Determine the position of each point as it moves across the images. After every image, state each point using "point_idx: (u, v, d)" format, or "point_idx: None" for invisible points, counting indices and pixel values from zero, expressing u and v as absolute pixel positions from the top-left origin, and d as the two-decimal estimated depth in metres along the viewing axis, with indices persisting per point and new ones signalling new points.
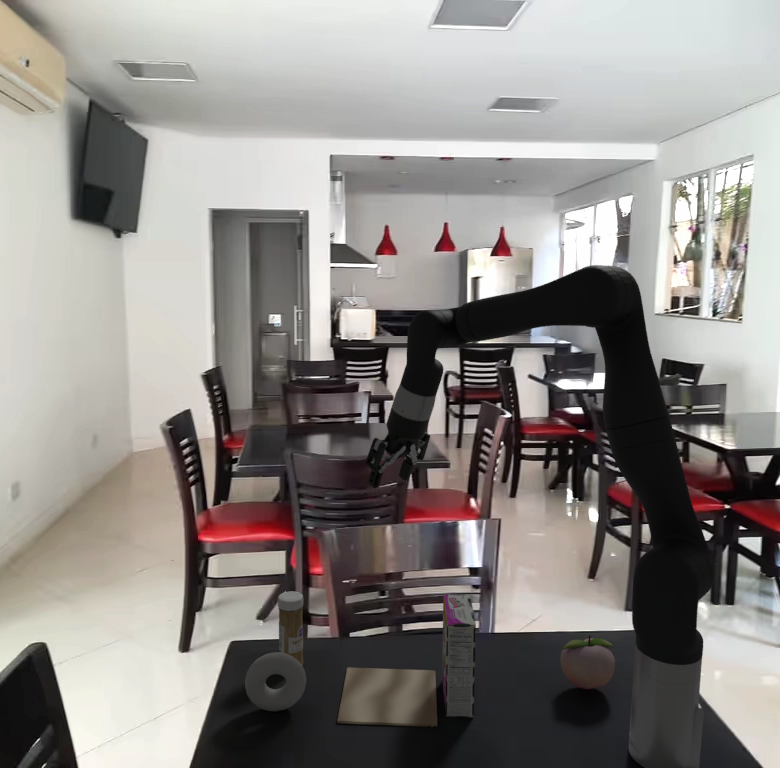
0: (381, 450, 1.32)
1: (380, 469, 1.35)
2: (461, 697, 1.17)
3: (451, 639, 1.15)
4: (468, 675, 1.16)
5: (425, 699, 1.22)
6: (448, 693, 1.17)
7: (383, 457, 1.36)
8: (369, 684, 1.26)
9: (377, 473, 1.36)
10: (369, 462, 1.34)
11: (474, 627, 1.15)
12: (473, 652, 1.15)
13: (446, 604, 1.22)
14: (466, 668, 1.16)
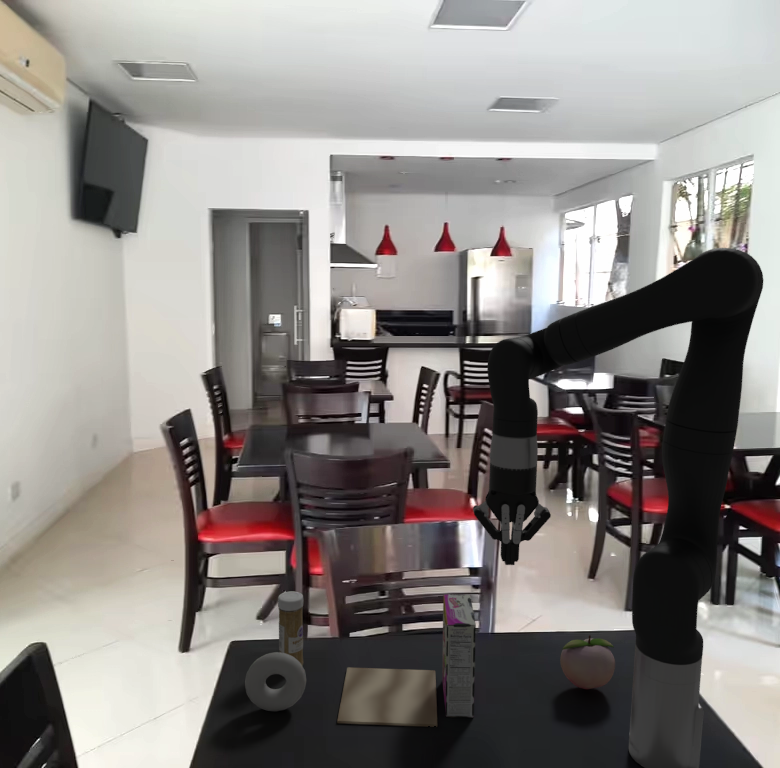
0: (479, 517, 1.17)
1: (503, 538, 1.17)
2: (461, 697, 1.17)
3: (451, 639, 1.15)
4: (468, 675, 1.16)
5: (425, 699, 1.22)
6: (448, 693, 1.17)
7: (501, 525, 1.18)
8: (369, 684, 1.26)
9: (503, 544, 1.18)
10: None
11: (474, 627, 1.15)
12: (473, 652, 1.15)
13: (446, 604, 1.22)
14: (466, 668, 1.16)
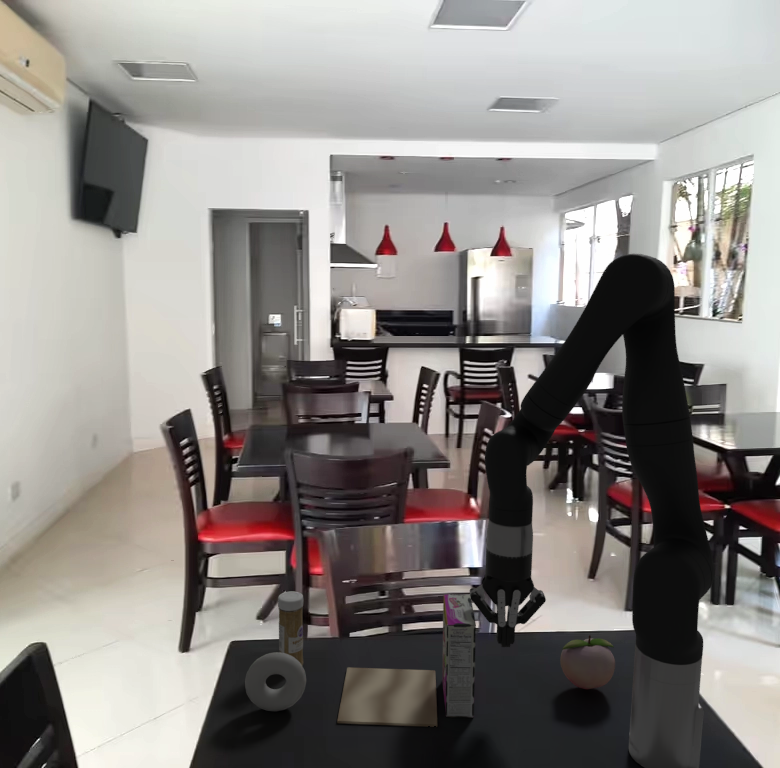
0: (475, 601, 1.19)
1: (499, 622, 1.19)
2: (461, 697, 1.17)
3: (451, 639, 1.15)
4: (468, 675, 1.16)
5: (425, 699, 1.22)
6: (448, 693, 1.17)
7: (497, 608, 1.20)
8: (369, 684, 1.26)
9: (499, 627, 1.20)
10: None
11: (474, 627, 1.15)
12: (473, 652, 1.15)
13: (446, 604, 1.22)
14: (466, 668, 1.16)
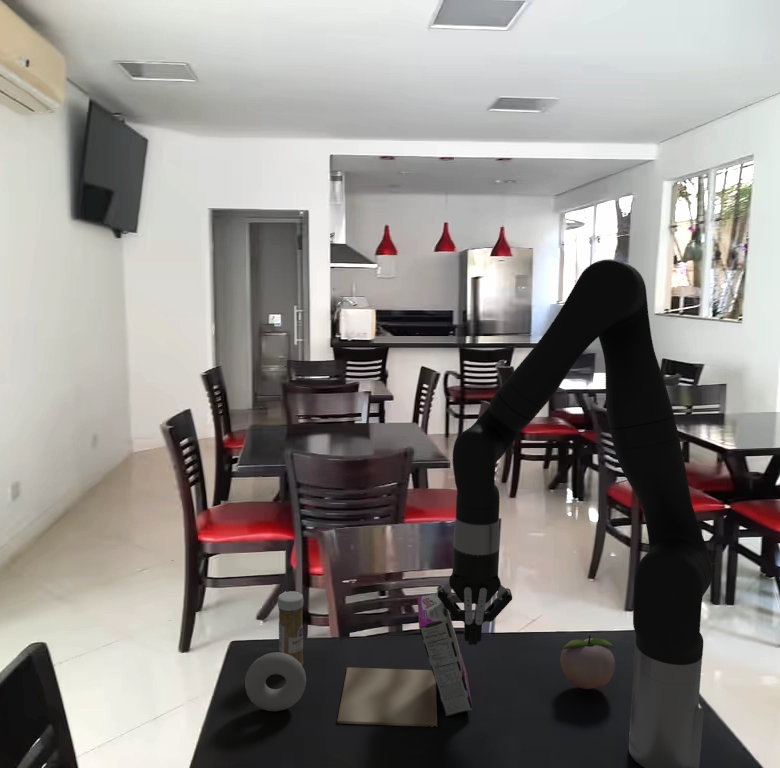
0: (442, 599, 1.19)
1: (466, 619, 1.19)
2: (454, 693, 1.17)
3: (427, 640, 1.15)
4: (454, 670, 1.16)
5: (425, 699, 1.22)
6: (441, 693, 1.17)
7: (464, 606, 1.20)
8: (369, 684, 1.26)
9: (466, 625, 1.20)
10: None
11: (446, 623, 1.15)
12: (452, 647, 1.15)
13: (419, 606, 1.22)
14: (450, 664, 1.16)
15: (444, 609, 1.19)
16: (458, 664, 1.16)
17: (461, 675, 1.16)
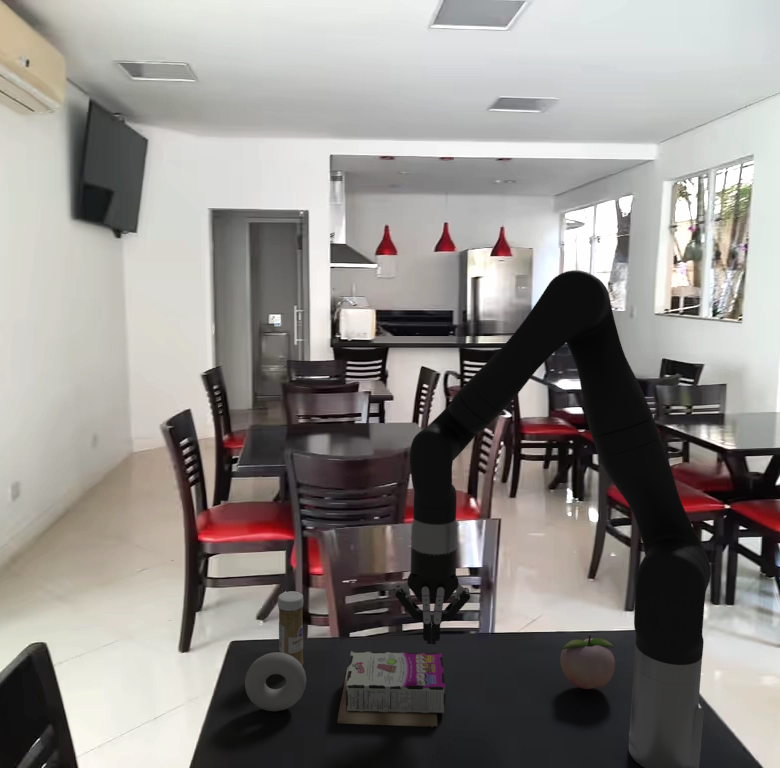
0: (400, 599, 1.19)
1: (424, 619, 1.20)
2: (422, 699, 1.17)
3: (360, 707, 1.17)
4: (398, 693, 1.17)
5: None
6: (418, 711, 1.17)
7: None
8: None
9: (425, 624, 1.20)
10: None
11: (348, 687, 1.17)
12: (374, 688, 1.17)
13: None
14: (392, 694, 1.17)
15: None
16: (393, 687, 1.17)
17: (406, 688, 1.17)
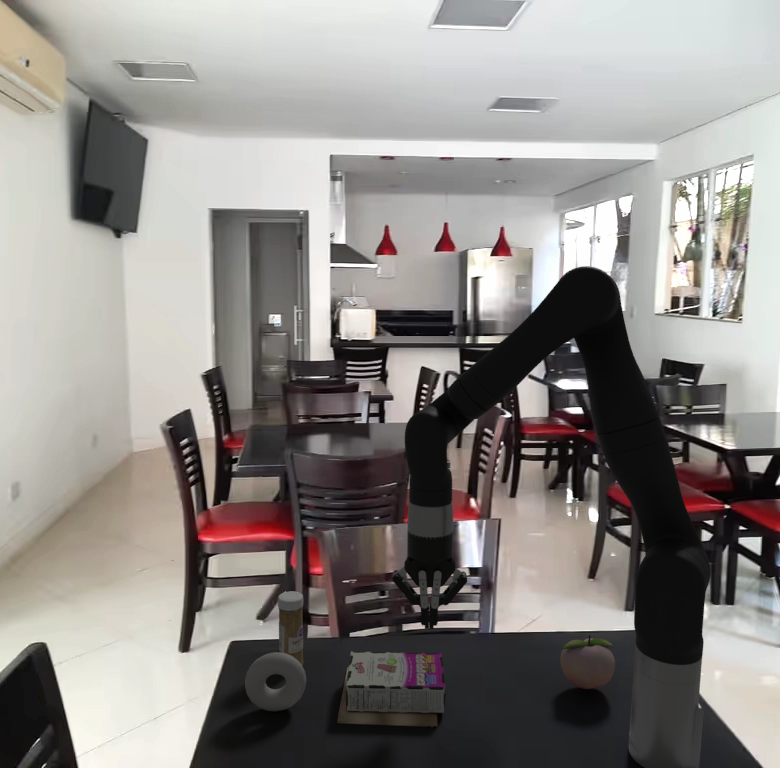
0: (397, 583, 1.19)
1: (422, 603, 1.19)
2: (422, 699, 1.17)
3: (360, 707, 1.17)
4: (398, 693, 1.17)
5: None
6: (418, 711, 1.17)
7: None
8: None
9: (422, 609, 1.20)
10: None
11: (348, 687, 1.17)
12: (374, 688, 1.17)
13: None
14: (392, 694, 1.17)
15: None
16: (393, 687, 1.17)
17: (406, 688, 1.17)
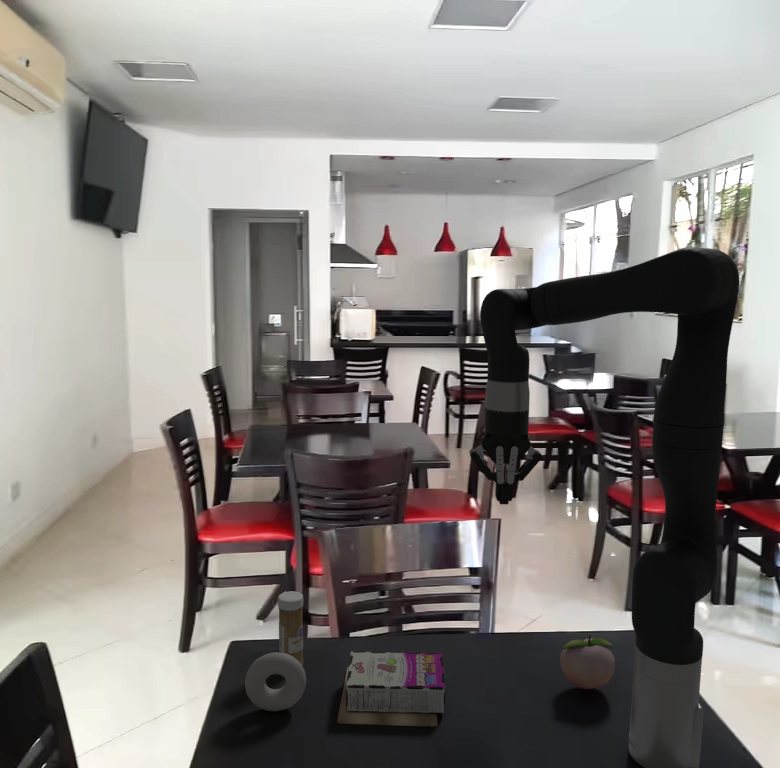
0: (475, 459, 1.24)
1: (498, 479, 1.25)
2: (422, 699, 1.17)
3: (360, 707, 1.17)
4: (398, 693, 1.17)
5: None
6: (418, 711, 1.17)
7: (495, 467, 1.25)
8: None
9: (498, 485, 1.25)
10: None
11: (348, 687, 1.17)
12: (374, 688, 1.17)
13: None
14: (392, 694, 1.17)
15: None
16: (393, 687, 1.17)
17: (406, 688, 1.17)
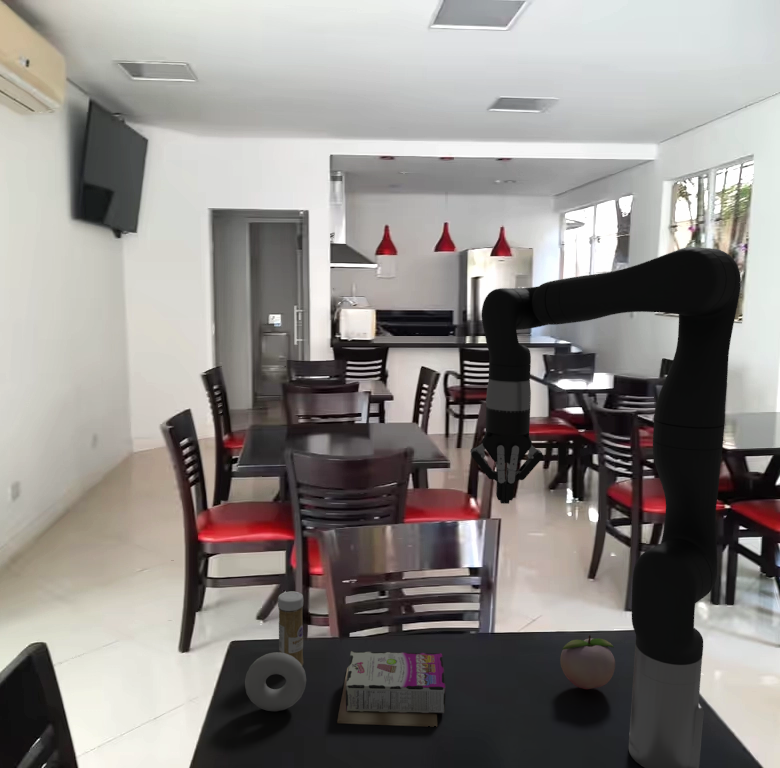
0: (476, 458, 1.24)
1: (499, 478, 1.25)
2: (422, 699, 1.17)
3: (360, 707, 1.17)
4: (398, 693, 1.17)
5: None
6: (418, 711, 1.17)
7: (496, 466, 1.26)
8: None
9: (499, 484, 1.25)
10: None
11: (348, 687, 1.17)
12: (374, 688, 1.17)
13: None
14: (392, 694, 1.17)
15: None
16: (393, 687, 1.17)
17: (406, 688, 1.17)
